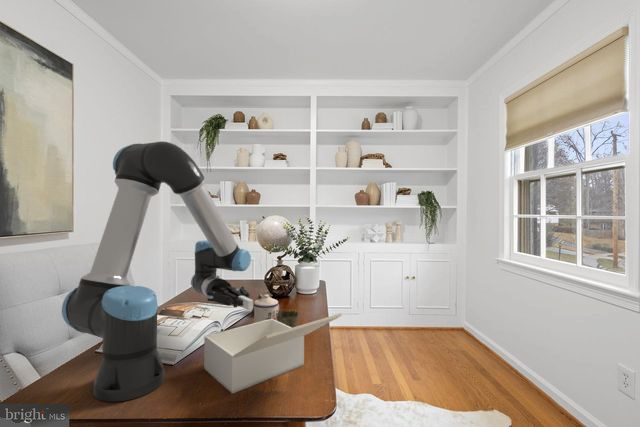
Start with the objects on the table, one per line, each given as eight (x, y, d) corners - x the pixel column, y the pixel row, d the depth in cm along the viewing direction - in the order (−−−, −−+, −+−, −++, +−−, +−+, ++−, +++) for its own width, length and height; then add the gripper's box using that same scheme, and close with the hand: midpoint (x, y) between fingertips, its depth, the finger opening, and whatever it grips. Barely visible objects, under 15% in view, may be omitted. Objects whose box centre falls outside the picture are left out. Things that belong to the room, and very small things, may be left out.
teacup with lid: (267, 332, 117) (268, 299, 117) (248, 327, 122) (248, 295, 122) (287, 322, 128) (288, 292, 127) (269, 318, 132) (269, 289, 132)
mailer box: (232, 393, 79) (232, 356, 79) (204, 368, 91) (204, 336, 90) (303, 365, 94) (304, 333, 93) (271, 346, 105) (272, 318, 105)
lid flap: (233, 355, 78) (234, 358, 78) (266, 335, 68) (266, 338, 68) (305, 332, 93) (305, 334, 93) (341, 313, 83) (341, 315, 83)
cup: (284, 330, 120) (285, 308, 119) (301, 334, 116) (302, 311, 116) (271, 337, 113) (271, 313, 113) (289, 342, 109) (289, 317, 109)
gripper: (234, 296, 118) (270, 313, 101) (197, 303, 110) (229, 323, 92) (234, 275, 118) (270, 288, 100) (197, 280, 110) (230, 296, 92)
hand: (250, 305), depth 96 cm, fingers closed
